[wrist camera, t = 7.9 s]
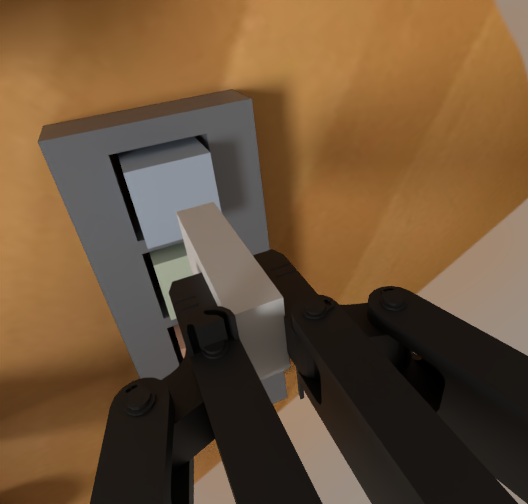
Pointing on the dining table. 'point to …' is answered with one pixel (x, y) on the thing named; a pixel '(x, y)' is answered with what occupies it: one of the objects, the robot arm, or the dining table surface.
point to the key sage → (170, 269)
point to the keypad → (128, 229)
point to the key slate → (168, 185)
